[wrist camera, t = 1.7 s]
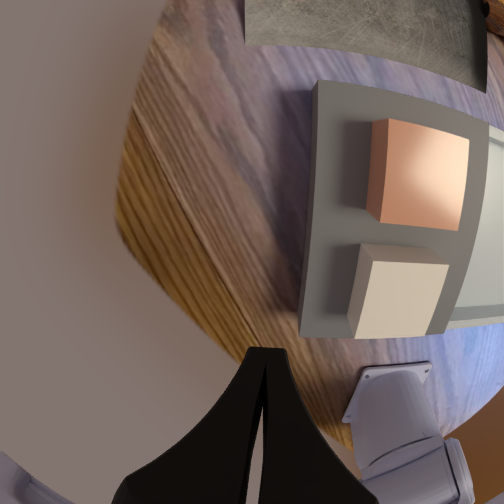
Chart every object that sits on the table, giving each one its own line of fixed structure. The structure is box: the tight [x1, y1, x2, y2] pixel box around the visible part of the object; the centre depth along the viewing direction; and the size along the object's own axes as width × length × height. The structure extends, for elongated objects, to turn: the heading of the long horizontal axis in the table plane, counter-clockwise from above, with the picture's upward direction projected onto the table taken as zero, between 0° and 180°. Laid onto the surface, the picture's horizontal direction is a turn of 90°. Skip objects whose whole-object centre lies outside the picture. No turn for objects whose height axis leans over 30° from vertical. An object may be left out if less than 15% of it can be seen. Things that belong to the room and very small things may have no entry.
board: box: [297, 80, 489, 338], centre depth 16 cm, size 16×12×3 cm
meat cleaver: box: [245, 0, 504, 93], centre depth 9 cm, size 34×11×4 cm, turn 90°
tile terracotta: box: [365, 118, 469, 231], centre depth 12 cm, size 5×5×2 cm
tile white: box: [347, 243, 449, 339], centre depth 15 cm, size 5×5×2 cm
